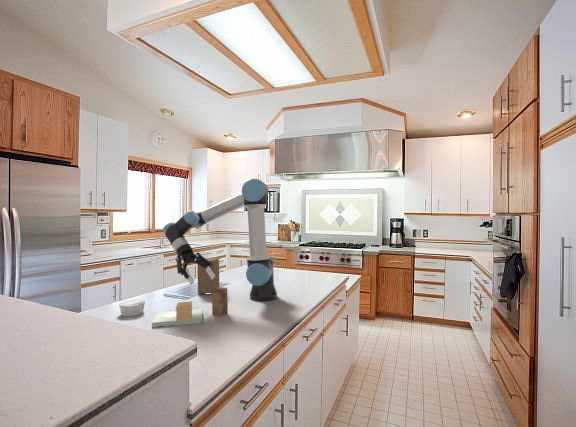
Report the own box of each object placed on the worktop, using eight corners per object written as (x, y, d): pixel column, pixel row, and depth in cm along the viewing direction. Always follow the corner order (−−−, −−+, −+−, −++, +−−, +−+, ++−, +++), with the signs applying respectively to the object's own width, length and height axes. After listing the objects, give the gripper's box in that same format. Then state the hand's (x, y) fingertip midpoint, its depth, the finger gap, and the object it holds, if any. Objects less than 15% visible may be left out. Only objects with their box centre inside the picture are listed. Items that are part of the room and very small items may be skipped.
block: (213, 295, 186) (212, 260, 186) (197, 294, 188) (196, 260, 188) (220, 290, 196) (219, 258, 195) (204, 290, 198) (204, 257, 197)
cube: (192, 314, 144) (191, 301, 144) (191, 319, 138) (190, 305, 138) (178, 316, 142) (177, 302, 142) (176, 320, 137) (176, 306, 137)
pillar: (219, 311, 154) (219, 286, 154) (227, 313, 152) (227, 287, 152) (212, 314, 150) (211, 289, 150) (220, 316, 148) (219, 290, 148)
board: (202, 313, 152) (202, 308, 152) (201, 323, 139) (201, 318, 139) (157, 316, 148) (157, 312, 148) (152, 327, 134) (151, 322, 134)
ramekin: (132, 318, 147) (131, 306, 147) (113, 316, 150) (113, 304, 150) (150, 311, 157) (150, 300, 157) (132, 309, 161) (132, 298, 161)
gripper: (197, 250, 177) (218, 280, 169) (158, 255, 156) (179, 290, 148) (204, 241, 174) (225, 271, 166) (165, 245, 153) (186, 280, 145)
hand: (203, 280), depth 157 cm, fingers open, 13 cm apart
